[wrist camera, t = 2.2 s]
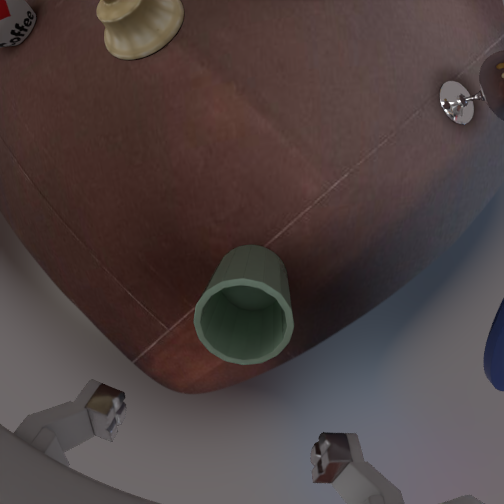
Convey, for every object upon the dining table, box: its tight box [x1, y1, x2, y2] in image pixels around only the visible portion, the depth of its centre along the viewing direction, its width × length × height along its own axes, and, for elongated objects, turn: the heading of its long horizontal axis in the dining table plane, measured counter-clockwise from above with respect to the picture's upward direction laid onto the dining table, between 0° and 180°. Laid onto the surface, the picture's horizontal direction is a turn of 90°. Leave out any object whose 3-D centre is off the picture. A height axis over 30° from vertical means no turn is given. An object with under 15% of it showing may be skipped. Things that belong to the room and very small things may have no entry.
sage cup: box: [194, 245, 294, 365], centre depth 22 cm, size 6×6×8 cm
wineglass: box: [439, 50, 504, 124], centre depth 14 cm, size 6×6×12 cm
